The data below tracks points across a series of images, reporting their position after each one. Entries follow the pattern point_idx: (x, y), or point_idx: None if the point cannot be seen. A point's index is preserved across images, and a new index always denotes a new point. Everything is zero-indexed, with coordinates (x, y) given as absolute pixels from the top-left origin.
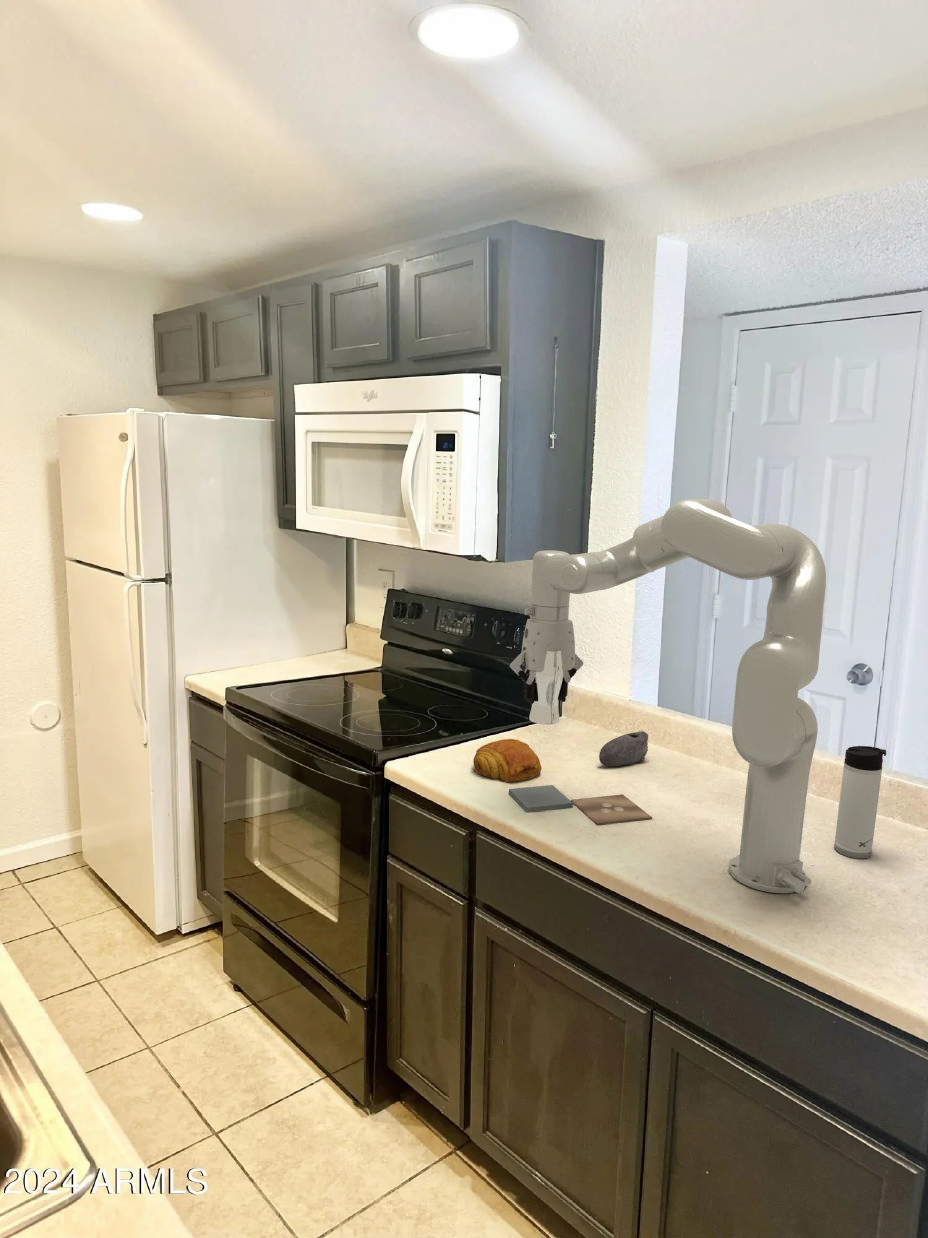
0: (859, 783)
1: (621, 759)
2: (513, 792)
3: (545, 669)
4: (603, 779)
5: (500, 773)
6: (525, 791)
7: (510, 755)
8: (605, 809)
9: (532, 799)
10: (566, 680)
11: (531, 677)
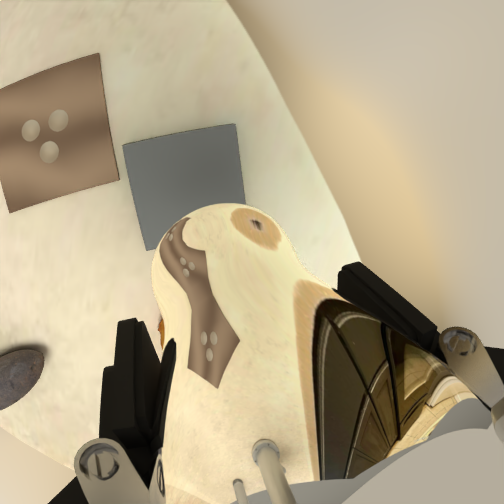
0: None
1: (8, 356)
2: None
3: (497, 438)
4: (39, 298)
5: None
6: None
7: None
8: (57, 126)
9: (211, 168)
10: (113, 458)
11: (476, 367)
